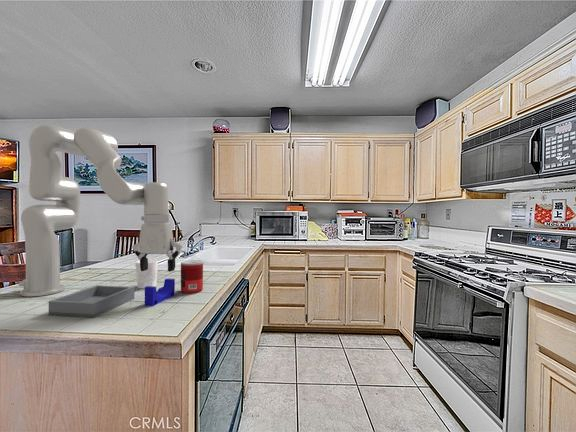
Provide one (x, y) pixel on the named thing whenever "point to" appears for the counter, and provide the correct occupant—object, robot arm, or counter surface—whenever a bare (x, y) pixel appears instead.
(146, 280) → the white cup
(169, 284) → the blue u-shaped block
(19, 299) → the counter surface
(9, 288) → the counter surface
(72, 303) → the tray
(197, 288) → the canned food
